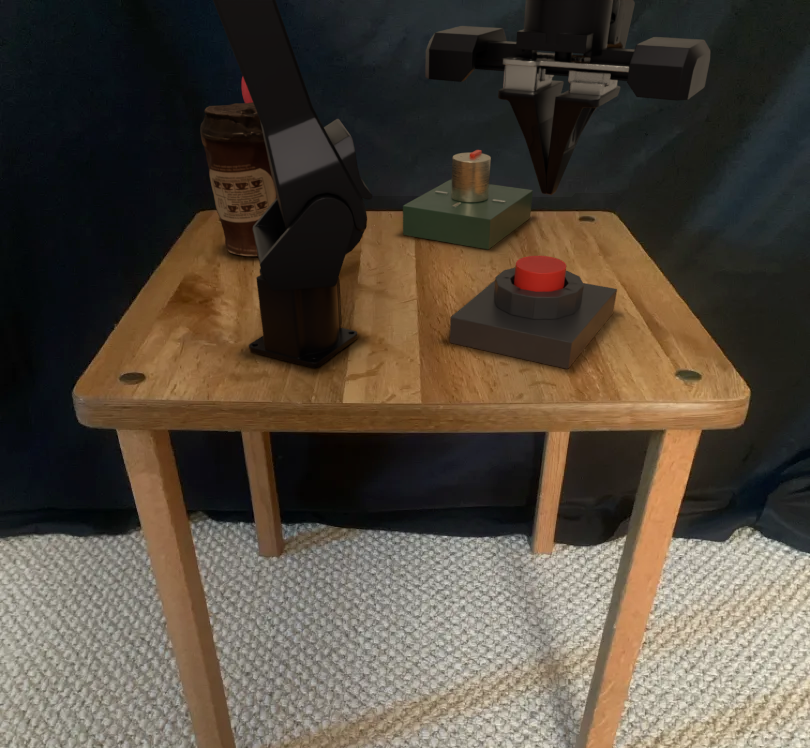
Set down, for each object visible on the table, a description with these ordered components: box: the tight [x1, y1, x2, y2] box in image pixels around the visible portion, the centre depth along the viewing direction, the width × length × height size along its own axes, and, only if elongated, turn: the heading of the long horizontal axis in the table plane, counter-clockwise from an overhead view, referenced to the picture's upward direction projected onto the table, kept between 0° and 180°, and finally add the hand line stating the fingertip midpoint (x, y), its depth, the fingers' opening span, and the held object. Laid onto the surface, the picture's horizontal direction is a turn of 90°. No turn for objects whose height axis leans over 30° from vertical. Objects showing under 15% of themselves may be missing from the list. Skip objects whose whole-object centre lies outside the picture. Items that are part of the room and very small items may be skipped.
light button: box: [514, 255, 567, 292], centre depth 63 cm, size 4×4×2 cm
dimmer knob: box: [451, 149, 492, 202], centre depth 84 cm, size 4×4×4 cm
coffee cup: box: [199, 102, 277, 257], centre depth 77 cm, size 9×8×13 cm
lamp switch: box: [449, 267, 618, 370], centre depth 65 cm, size 12×10×4 cm
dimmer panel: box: [402, 178, 534, 250], centre depth 86 cm, size 12×10×3 cm
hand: (548, 193), depth 60 cm, fingers closed
